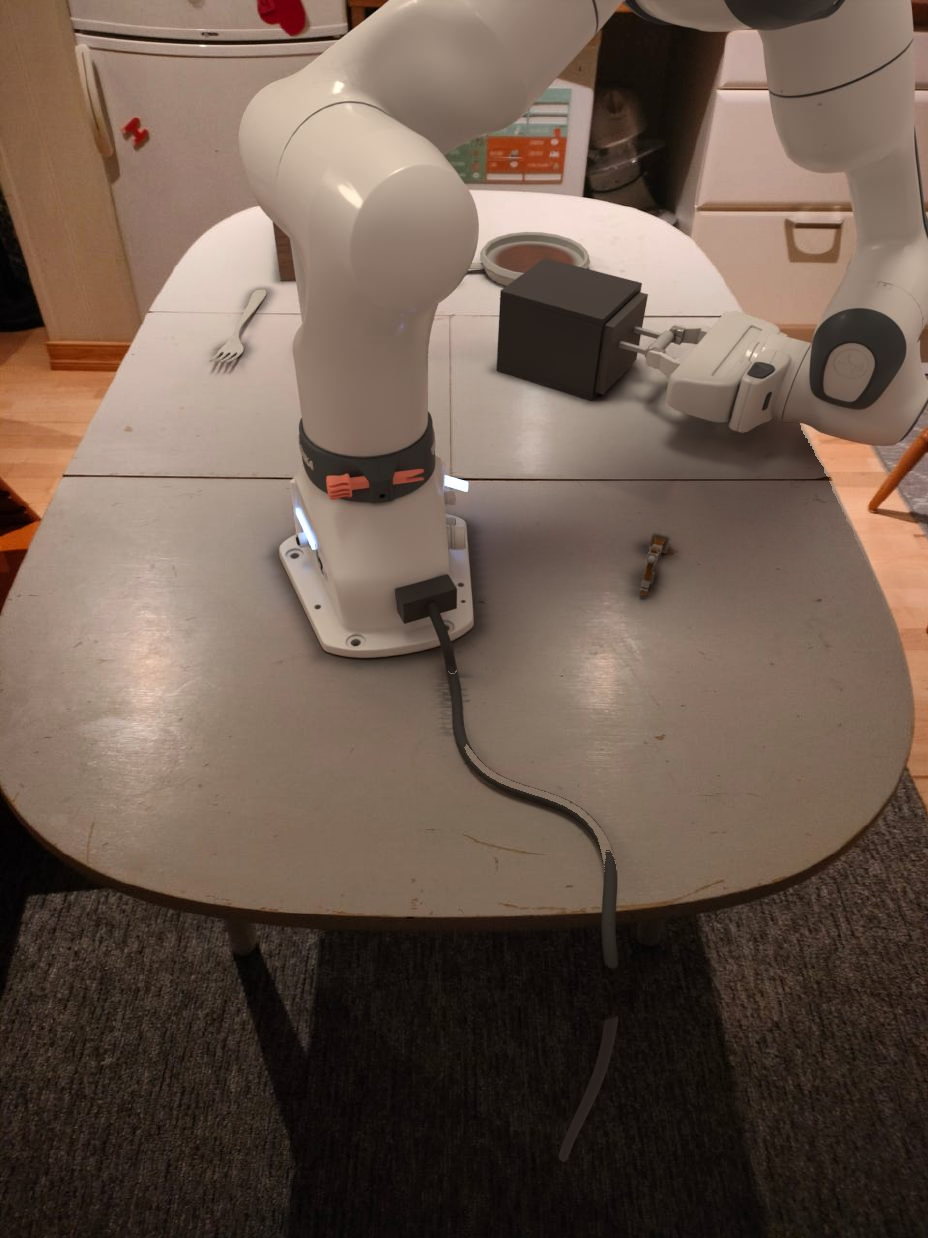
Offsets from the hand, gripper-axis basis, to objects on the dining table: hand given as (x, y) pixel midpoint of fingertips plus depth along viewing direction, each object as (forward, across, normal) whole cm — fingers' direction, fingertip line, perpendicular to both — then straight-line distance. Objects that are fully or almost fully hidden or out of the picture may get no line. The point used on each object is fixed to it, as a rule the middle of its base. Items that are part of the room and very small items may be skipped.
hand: (659, 343), depth 102 cm
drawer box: (+12, 0, +7) cm, 14 cm away
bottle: (+41, +13, +7) cm, 44 cm away
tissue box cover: (+62, -14, +7) cm, 64 cm away
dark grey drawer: (+8, 0, +6) cm, 10 cm away
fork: (+54, +15, +7) cm, 56 cm away
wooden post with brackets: (-13, +31, +7) cm, 34 cm away
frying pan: (+34, -21, +7) cm, 40 cm away
